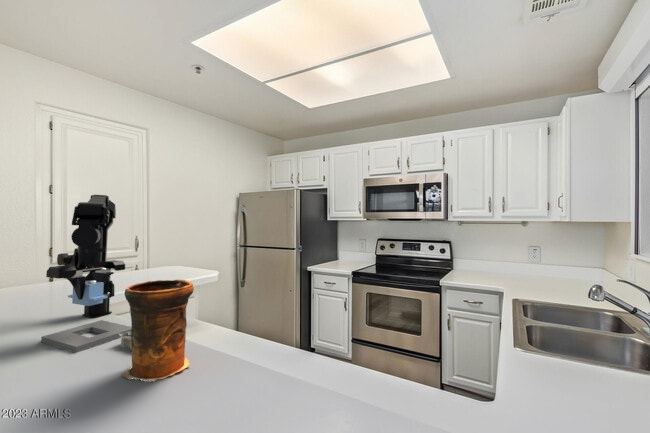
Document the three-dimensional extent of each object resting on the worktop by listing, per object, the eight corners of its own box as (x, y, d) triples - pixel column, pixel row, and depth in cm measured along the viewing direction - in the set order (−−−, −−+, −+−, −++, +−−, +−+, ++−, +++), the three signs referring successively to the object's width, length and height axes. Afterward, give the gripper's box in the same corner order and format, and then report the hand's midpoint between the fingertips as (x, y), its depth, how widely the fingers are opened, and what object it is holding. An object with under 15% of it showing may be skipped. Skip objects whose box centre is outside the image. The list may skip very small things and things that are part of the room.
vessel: (155, 390, 63) (157, 292, 64) (107, 378, 68) (109, 287, 69) (205, 361, 77) (206, 281, 77) (162, 353, 82) (163, 277, 82)
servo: (82, 299, 94) (83, 278, 95) (107, 303, 91) (108, 280, 91) (67, 302, 91) (68, 280, 91) (93, 306, 87) (94, 283, 87)
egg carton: (167, 344, 87) (167, 329, 87) (142, 354, 80) (142, 339, 80) (141, 337, 91) (142, 323, 92) (116, 346, 85) (116, 331, 85)
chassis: (101, 324, 101) (101, 320, 101) (134, 332, 95) (135, 327, 95) (41, 342, 86) (41, 336, 86) (76, 352, 80) (76, 346, 80)
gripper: (103, 242, 103) (101, 289, 102) (34, 245, 85) (32, 302, 85) (127, 243, 99) (125, 292, 98) (61, 247, 81) (58, 306, 81)
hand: (88, 297), depth 91 cm, fingers closed on servo, 4 cm apart
